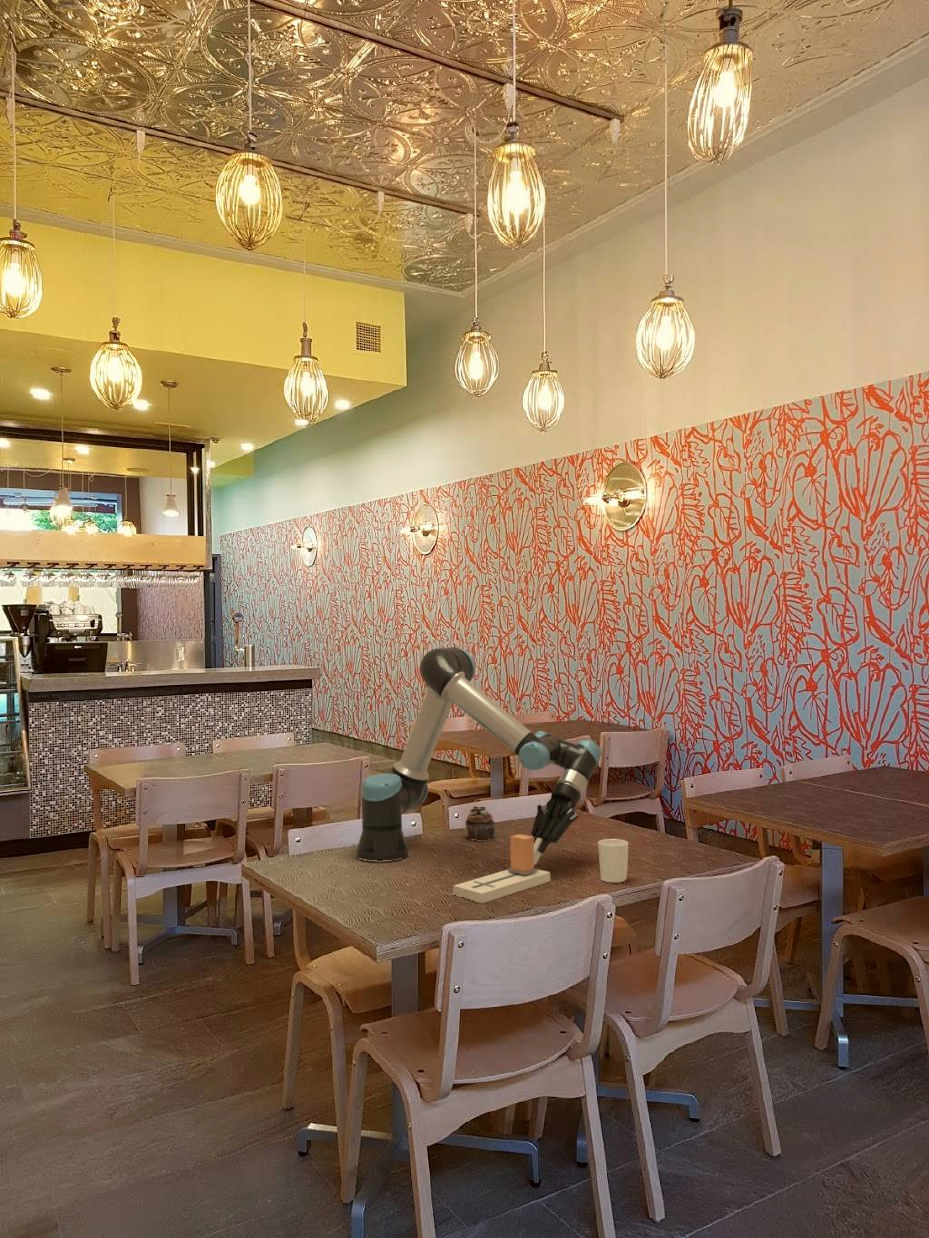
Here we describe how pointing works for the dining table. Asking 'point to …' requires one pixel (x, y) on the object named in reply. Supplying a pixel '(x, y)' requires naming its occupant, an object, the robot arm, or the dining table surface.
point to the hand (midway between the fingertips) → (531, 861)
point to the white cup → (613, 859)
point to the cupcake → (480, 824)
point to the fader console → (499, 885)
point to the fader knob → (522, 854)
